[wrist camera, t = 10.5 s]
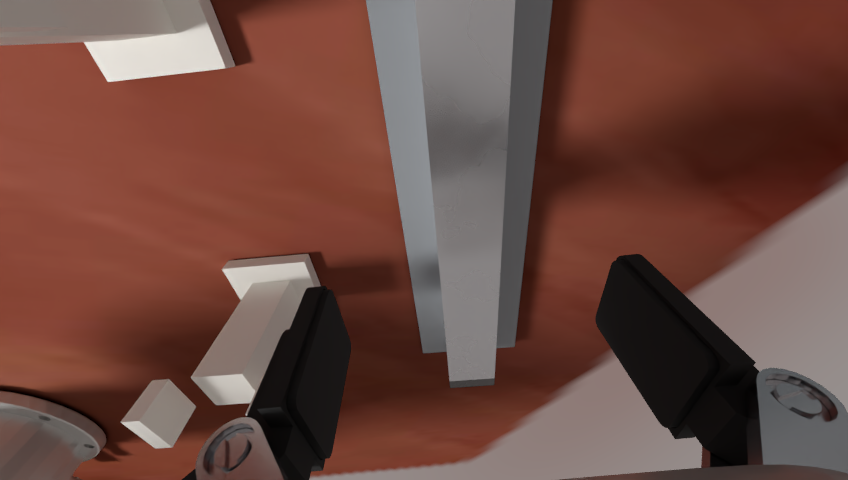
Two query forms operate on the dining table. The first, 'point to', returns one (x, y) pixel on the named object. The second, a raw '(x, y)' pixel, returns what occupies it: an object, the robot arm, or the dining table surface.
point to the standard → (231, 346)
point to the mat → (411, 163)
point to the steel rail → (468, 168)
